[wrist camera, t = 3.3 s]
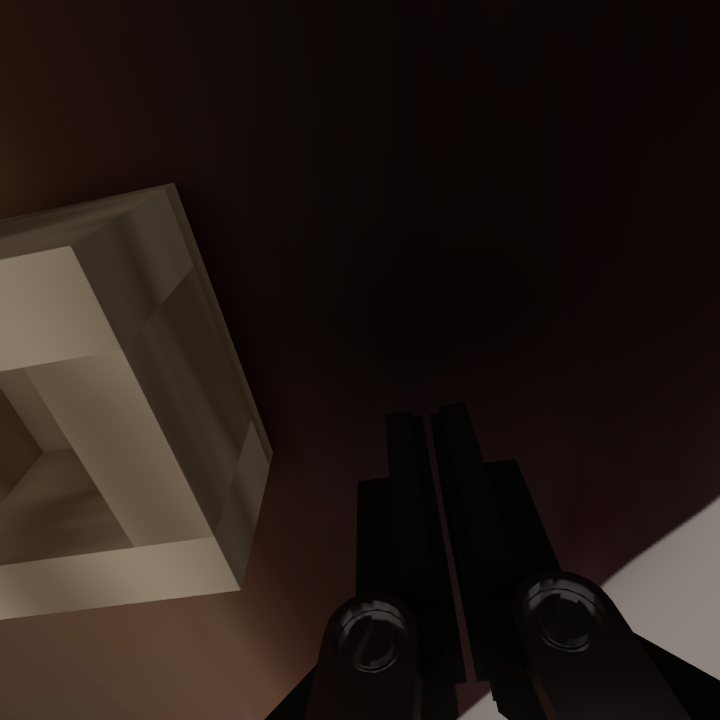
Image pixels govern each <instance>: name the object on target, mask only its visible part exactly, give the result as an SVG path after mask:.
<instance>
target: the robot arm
mask: <svg viewBox="0 0 720 720" xmlns="http://www.w3.org/2000/svg"><path fill="white" fill-rule="evenodd" d="M385 418H386V433H387V449H388V464H389V477H386V478H380V479H373V480H366V481H359V483H358V495H357V558H356V596H355V597H353V598H351V599H349V600H347V601H346V602H345V603H344V604H342V605H341V606H340V607H338V608H337V610H336V611H335V612H334V614H333V615H332V616H331V618H330V619H329V621H328V624H327V626H326V629H325V631H324V634H323V639H322V643H321V648H320V652H319V657H318V661H317V665H316V666H315V667H314V668H313V669H312V670H311V671H310V672H309V673H308V674H307V675H306V676H305V677H304V678H303V679H302V681H301V682H300V683H299V684H298V685H297V686H296V687H295V688H294V689H293V690H292V691H291V692H290V693H289V694H288V695H287V696H286V697H285V698H284V700H283V701H282V702H281V703H280V704H279V705H278V706H277V707H276V708H275V709H274V710H273V711H272V712H271V713H270V714H269V715H268V716H267V717H266V719H265V720H456V719H457V717H458V716H459V714H458V707H457V705H458V701H457V694H456V688H455V684H461V683H467V679H466V673H465V666H464V660H463V654H462V648H461V642H460V636H459V630H458V623H457V617H456V611H455V605H454V599H453V593H452V587H451V581H450V575H449V569H448V563H447V557H446V551H445V545H444V540H443V534H442V528H441V523H440V517H439V511H438V506H437V500H436V494H435V488H434V483H433V477H432V471H431V466H430V460H429V454H428V449H427V443H426V437H425V431H424V426H423V420H422V416H417V417H412V415H411V411H405V412H398V413H392V414H386V415H385ZM430 419H431V425H432V432H433V438H434V445H435V451H436V457H437V464H438V470H439V477H440V483H441V490H442V496H443V502H444V509H445V515H446V520H447V526H448V531H449V536H450V542H451V547H452V552H453V557H454V563H455V568H456V573H457V578H458V584H459V589H460V594H461V599H462V605H463V610H464V615H465V620H466V626H467V631H468V636H469V641H470V647H471V652H472V657H473V662H474V668H475V673H476V678H477V682H480V681H489V682H490V687H491V692H492V696H493V701H496V703H497V707H498V712H499V713H501V714H502V715H503V716H505V717H506V718H507V719H508V720H720V680H718V679H716V678H714V677H713V676H711V675H709V674H707V673H705V672H703V671H702V670H700V669H698V668H696V667H695V666H693V665H691V664H689V663H687V662H686V661H684V660H682V659H680V658H679V657H677V656H675V655H673V654H671V653H670V652H668V651H666V650H664V649H662V648H660V647H659V646H657V645H655V644H653V643H652V642H650V641H648V640H646V639H644V638H643V637H641V636H639V635H637V634H636V633H633V631H632V630H631V628H630V627H629V625H628V624H627V622H626V621H625V619H624V618H623V616H622V615H621V613H620V612H619V610H618V609H617V607H616V606H615V604H614V603H613V601H612V600H611V599H610V598H609V596H608V595H607V594H606V593H605V592H604V591H603V590H602V589H601V588H600V587H599V586H598V585H596V584H595V583H593V582H592V581H590V580H589V579H587V578H585V577H582V576H580V575H577V574H575V573H572V572H566V571H561V569H560V566H559V564H558V561H557V559H556V556H555V554H554V551H553V549H552V547H551V544H550V542H549V539H548V537H547V534H546V532H545V529H544V527H543V525H542V522H541V520H540V517H539V515H538V512H537V510H536V507H535V505H534V502H533V500H532V498H531V495H530V493H529V490H528V488H527V485H526V483H525V480H524V478H523V476H522V473H521V471H520V468H519V466H518V464H517V462H516V461H515V459H511V460H505V461H498V462H491V463H484V460H483V457H482V454H481V451H480V448H479V445H478V441H477V438H476V435H475V432H474V429H473V426H472V423H471V420H470V416H469V413H468V410H467V407H466V404H465V402H462V403H456V404H449V405H443V406H439V413H436V414H430Z"/></svg>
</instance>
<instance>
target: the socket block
mask: <svg viewBox="0 0 720 720" xmlns="http://www.w3.org/2000/svg"><path fill="white" fill-rule="evenodd" d="M272 455H273V451H272V448H271V446H270V443H269V440H268V438H267V435H266V432H265V429H264V427H263V424H262V421H261V418H260V416H259V413H258V410H257V407H256V405H255V402H254V399H253V397H252V394H251V391H250V388H249V386H248V383H247V380H246V377H245V375H244V372H243V369H242V366H241V364H240V361H239V358H238V356H237V353H236V350H235V347H234V345H233V342H232V339H231V336H230V334H229V331H228V328H227V325H226V323H225V320H224V317H223V315H222V312H221V309H220V306H219V304H218V301H217V298H216V295H215V293H214V290H213V287H212V285H211V282H210V279H209V276H208V274H207V271H206V268H205V265H204V263H203V260H202V257H201V254H200V252H199V249H198V246H197V244H196V241H195V238H194V235H193V233H192V230H191V227H190V224H189V222H188V219H187V216H186V213H185V211H184V208H183V205H182V203H181V200H180V197H179V194H178V192H177V189H176V186H175V183H171V184H167V185H162V186H157V187H152V188H148V189H143V190H138V191H133V192H129V193H124V194H119V195H115V196H110V197H105V198H100V199H96V200H91V201H86V202H81V203H77V204H72V205H67V206H62V207H58V208H53V209H48V210H43V211H39V212H34V213H29V214H25V215H20V216H15V217H10V218H6V219H1V220H0V620H1V619H9V618H17V617H26V616H34V615H42V614H50V613H58V612H66V611H75V610H83V609H91V608H99V607H107V606H115V605H124V604H132V603H140V602H148V601H156V600H164V599H173V598H181V597H189V596H197V595H205V594H213V593H222V592H230V591H238V590H241V587H242V583H243V579H244V574H245V570H246V566H247V562H248V557H249V553H250V549H251V545H252V540H253V536H254V532H255V528H256V523H257V519H258V515H259V510H260V506H261V502H262V498H263V493H264V489H265V485H266V481H267V476H268V472H269V468H270V464H271V459H272Z"/></svg>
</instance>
